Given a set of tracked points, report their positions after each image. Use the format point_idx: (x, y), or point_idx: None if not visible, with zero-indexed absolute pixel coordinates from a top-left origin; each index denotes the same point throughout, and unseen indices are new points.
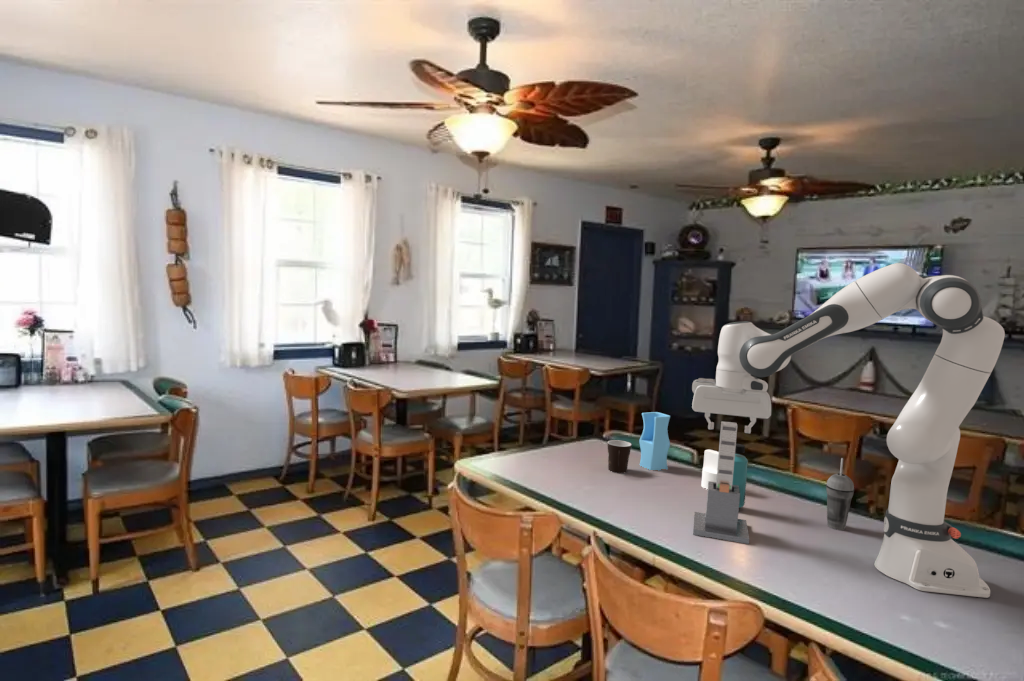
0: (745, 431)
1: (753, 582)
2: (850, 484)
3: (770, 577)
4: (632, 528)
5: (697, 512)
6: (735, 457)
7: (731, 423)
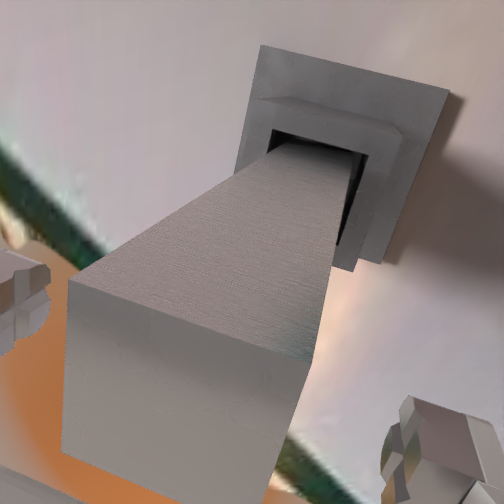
0: (387, 470)
1: (306, 436)
2: None
3: (354, 420)
4: (77, 194)
5: (270, 49)
6: None
7: (201, 411)
